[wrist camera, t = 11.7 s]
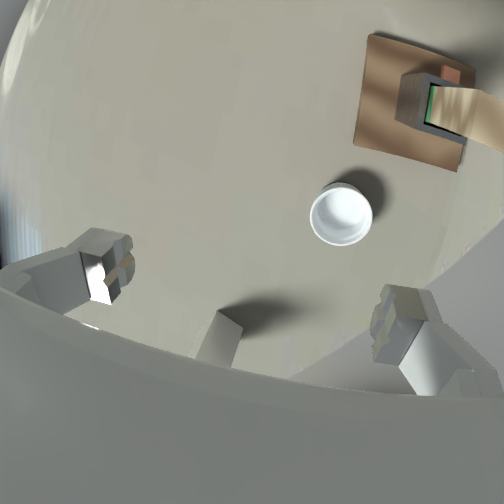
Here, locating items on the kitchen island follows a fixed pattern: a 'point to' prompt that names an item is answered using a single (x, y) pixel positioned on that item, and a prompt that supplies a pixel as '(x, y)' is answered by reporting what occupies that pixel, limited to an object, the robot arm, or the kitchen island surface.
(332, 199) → the ramekin
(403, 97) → the metal sleeve
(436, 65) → the stand base
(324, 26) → the kitchen island surface
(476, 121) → the beech post
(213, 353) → the soap dispenser
